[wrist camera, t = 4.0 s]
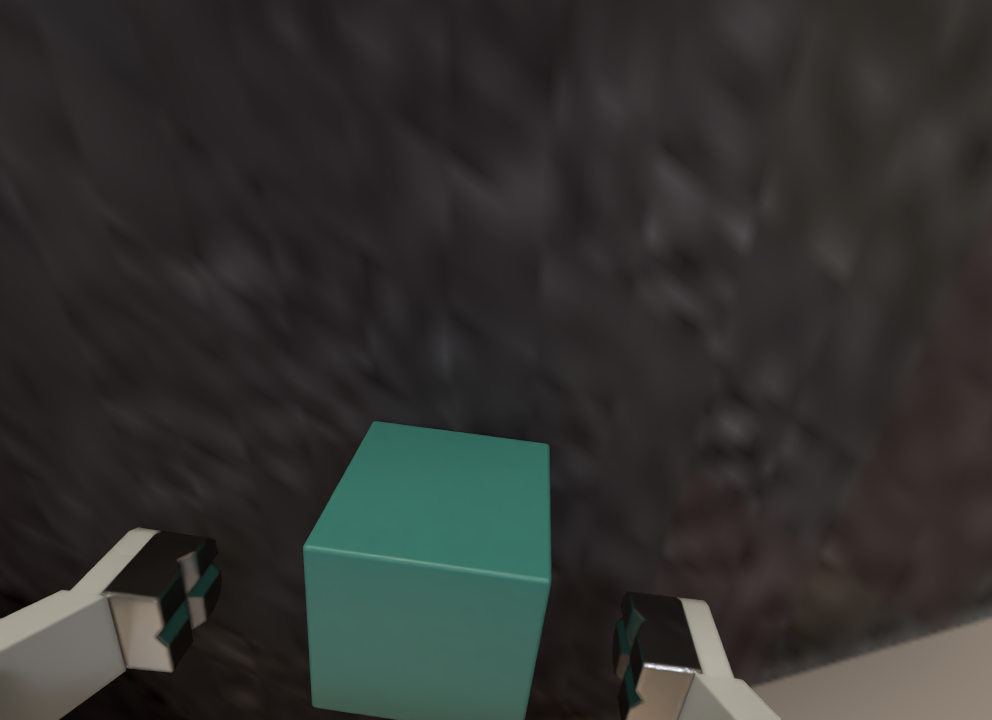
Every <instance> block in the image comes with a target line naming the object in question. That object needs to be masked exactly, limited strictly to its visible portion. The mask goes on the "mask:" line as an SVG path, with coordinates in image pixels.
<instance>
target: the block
mask: <svg viewBox="0 0 992 720" xmlns="http://www.w3.org/2000/svg"><path fill="white" fill-rule="evenodd" d="M303 555H304V572H305V589H306V607H307V624H308V641H309V659H310V676H311V694H312V705H313V706H314V707H315V708H321V709H328V710H335V711H341V712H348V713H355V714H361V715H368V716H375V717H382V718H388V719H395V720H525V716H526V711H527V706H528V700H529V695H530V690H531V685H532V680H533V675H534V670H535V664H536V659H537V654H538V649H539V644H540V639H541V634H542V629H543V623H544V618H545V613H546V608H547V603H548V598H549V593H550V587H551V582H552V576H551V508H550V448H549V445H548V444H546V443H538V442H530V441H523V440H515V439H508V438H500V437H492V436H485V435H477V434H470V433H462V432H454V431H447V430H439V429H432V428H424V427H416V426H409V425H401V424H394V423H386V422H378V421H375V422H373V423H372V425H371V427H370V428H369V430H368V432H367V434H366V436H365V437H364V439H363V441H362V443H361V445H360V446H359V448H358V450H357V452H356V453H355V455H354V457H353V459H352V461H351V462H350V464H349V466H348V468H347V470H346V471H345V473H344V475H343V477H342V479H341V480H340V482H339V484H338V486H337V487H336V489H335V491H334V493H333V495H332V496H331V498H330V500H329V502H328V504H327V505H326V507H325V509H324V511H323V513H322V514H321V516H320V518H319V520H318V521H317V523H316V525H315V527H314V529H313V530H312V532H311V534H310V536H309V538H308V539H307V541H306V543H305V545H304V547H303Z"/></svg>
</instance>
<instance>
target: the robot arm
mask: <svg viewBox="0 0 992 720" xmlns="http://www.w3.org/2000/svg"><path fill="white" fill-rule="evenodd" d="M217 554H218V551H217V546H216V541H215V540H213V539H210V538H205V537H198V536H192V535H185V534H179V533H172V532H166V531H157V530H150V529H144V528H136V529H134V530H131V531H129V532H128V533H127V534H126V535H125V536H124V537H123V538H122V539H121V540H120V541H119V542H118V543H117V544H116V545H115V546H114V547H113V548H112V549H111V550H110V551H109V552H108V553H107V554H106V555H105V556H104V557H103V558H102V559H101V560H100V561H99V562H98V563H97V564H96V565H95V566H94V567H93V568H92V569H91V570H90V571H89V572H88V573H87V574H86V575H85V576H84V577H83V578H82V579H81V580H80V581H79V582H78V583H77V584H76V585H75V586H74V587H73V588H72V589H71V590H70V591H65V590H61V591H59V592H57V593H55V594H53V595H51V596H48V597H46V598H44V599H42V600H40V601H38V602H36V603H34V604H32V605H29V606H27V607H25V608H23V609H21V610H19V611H17V612H15V613H12V614H10V615H8V616H6V617H4V618H2V619H0V720H59V719H60V718H62V717H63V716H64V715H66V714H67V713H69V712H70V711H71V710H73V709H74V708H75V707H77V706H78V705H80V704H81V703H82V702H84V701H85V700H86V699H88V698H89V697H91V696H92V695H93V694H95V693H96V692H97V691H99V690H100V689H102V688H103V687H104V686H106V685H107V684H108V683H110V682H111V681H112V680H114V679H115V678H117V677H118V676H119V675H121V674H122V673H123V672H125V671H126V668H132V669H142V670H152V671H161V672H171V673H172V672H173V671H174V669H175V668H176V666H177V665H178V663H179V662H180V660H181V659H182V657H183V656H184V654H185V652H186V651H187V649H188V648H189V646H190V645H191V643H192V642H193V634H192V629H194V628H195V627H197V626H198V625H200V624H202V623H203V622H205V621H207V619H208V617H209V616H210V614H211V613H212V611H213V609H214V608H215V605H216V603H217V600H218V597H219V594H220V591H221V582H222V579H221V571H220V569H219V568H218V567H217V566H216V565H215V564H214V563H213V562H212V561H213V560H214V558H215V557H216V556H217ZM621 609H622V615H623V618H621V619H620V620H619V621H617V622H616V627H615V631H614V636H613V649H612V651H613V666H614V674H615V676H616V677H617V678H618V679H619V681H620V682H621V683H622V684H621V687H620V691H619V694H618V703H619V709H620V716H621V720H782V719H781V718H780V717H779V716H778V715H777V714H776V713H775V712H774V711H773V710H772V709H771V708H770V707H769V706H768V705H767V704H766V703H765V702H764V701H763V700H762V699H761V698H760V697H759V696H758V695H757V694H756V693H755V692H754V691H753V690H752V689H751V688H750V687H749V686H748V685H747V684H746V683H745V682H744V681H743V680H741V679H735V678H734V676H733V673H732V670H731V667H730V665H729V662H728V659H727V656H726V653H725V651H724V648H723V645H722V642H721V639H720V637H719V634H718V631H717V628H716V625H715V623H714V620H713V617H712V614H711V611H710V609H709V606H708V604H707V603H706V602H705V601H703V600H695V599H686V598H676V597H670V596H661V595H653V594H644V593H636V592H626V593H625V595H624V597H623V600H622V604H621Z"/></svg>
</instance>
